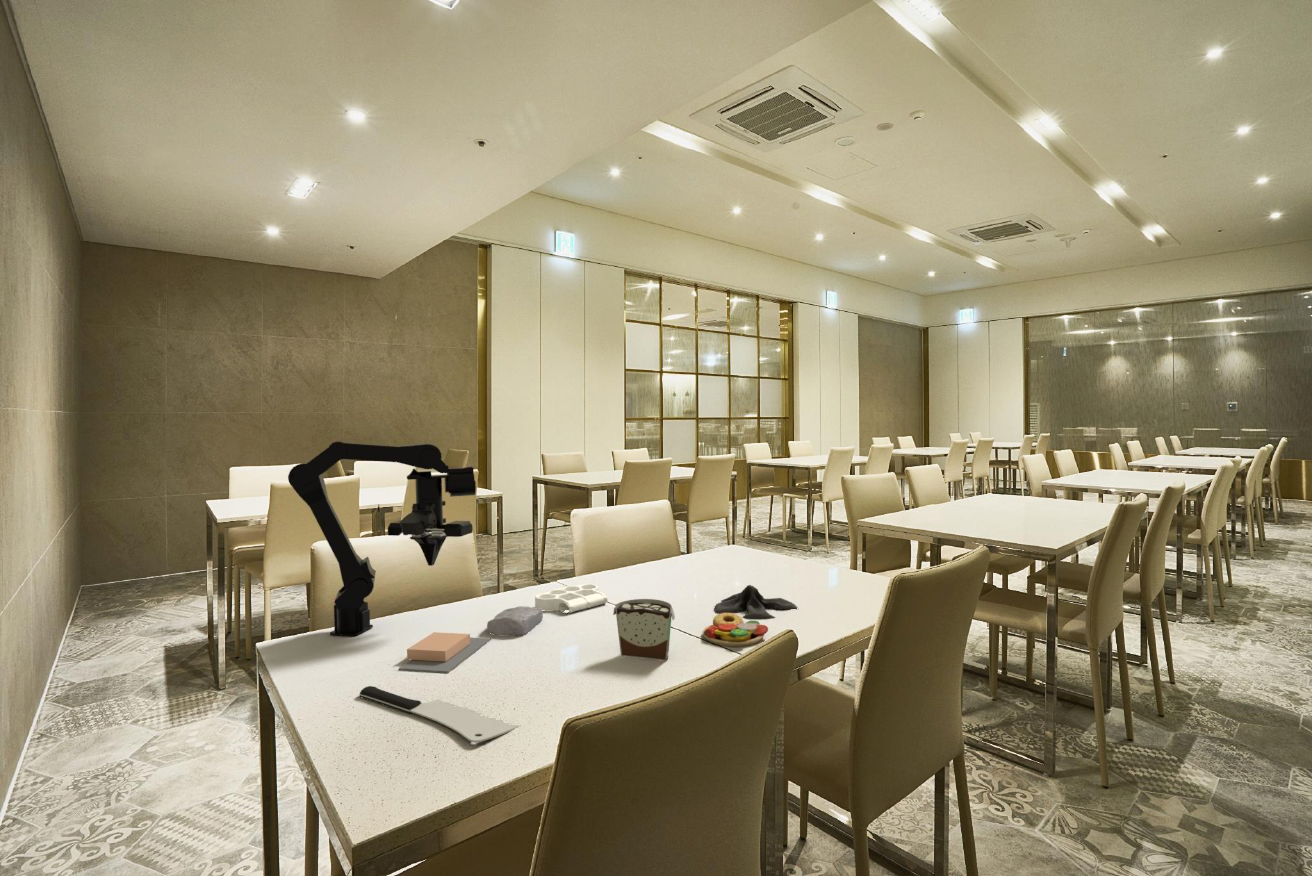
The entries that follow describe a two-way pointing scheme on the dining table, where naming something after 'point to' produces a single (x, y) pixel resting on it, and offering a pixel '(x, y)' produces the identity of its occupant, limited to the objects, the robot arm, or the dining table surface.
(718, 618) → the toy food set
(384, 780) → the dining table surface
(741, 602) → the cloth
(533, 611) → the stone block
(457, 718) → the kitchen cleaver
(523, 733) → the dining table surface
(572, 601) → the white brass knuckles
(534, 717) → the dining table surface
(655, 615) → the food container
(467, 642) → the tan flat block
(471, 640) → the mat
